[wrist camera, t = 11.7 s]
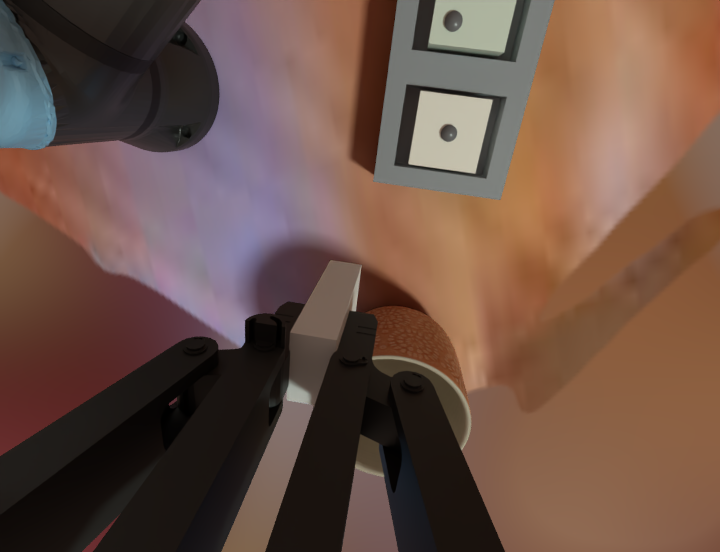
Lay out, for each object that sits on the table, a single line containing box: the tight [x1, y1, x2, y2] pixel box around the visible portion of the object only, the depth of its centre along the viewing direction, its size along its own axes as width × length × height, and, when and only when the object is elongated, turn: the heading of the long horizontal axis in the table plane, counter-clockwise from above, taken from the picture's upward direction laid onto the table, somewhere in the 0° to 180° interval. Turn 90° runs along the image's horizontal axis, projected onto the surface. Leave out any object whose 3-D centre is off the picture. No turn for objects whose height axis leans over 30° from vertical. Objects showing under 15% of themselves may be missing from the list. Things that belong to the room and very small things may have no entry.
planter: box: [313, 306, 471, 477], centre depth 48 cm, size 17×17×15 cm
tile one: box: [408, 91, 493, 174], centre depth 40 cm, size 7×7×4 cm
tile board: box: [373, 0, 554, 200], centre depth 37 cm, size 14×34×4 cm, turn 173°
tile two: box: [427, 0, 517, 58], centre depth 35 cm, size 7×7×4 cm
